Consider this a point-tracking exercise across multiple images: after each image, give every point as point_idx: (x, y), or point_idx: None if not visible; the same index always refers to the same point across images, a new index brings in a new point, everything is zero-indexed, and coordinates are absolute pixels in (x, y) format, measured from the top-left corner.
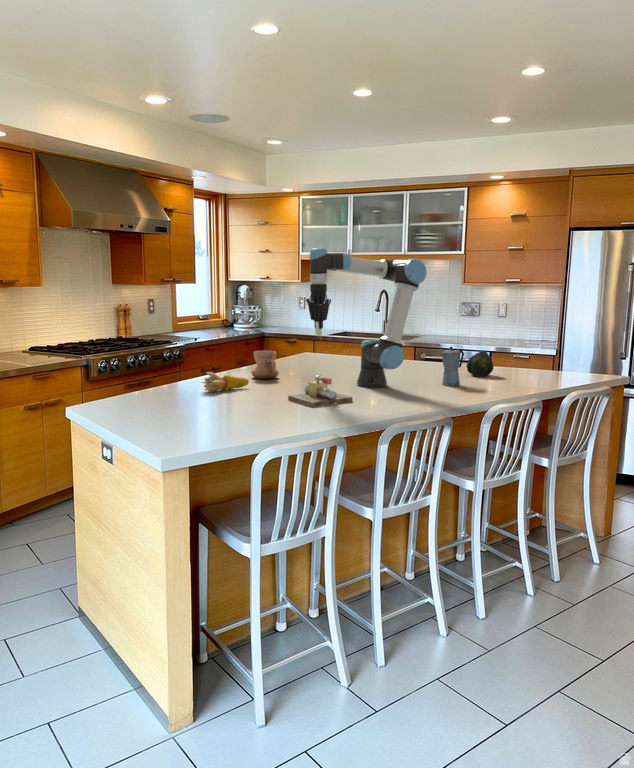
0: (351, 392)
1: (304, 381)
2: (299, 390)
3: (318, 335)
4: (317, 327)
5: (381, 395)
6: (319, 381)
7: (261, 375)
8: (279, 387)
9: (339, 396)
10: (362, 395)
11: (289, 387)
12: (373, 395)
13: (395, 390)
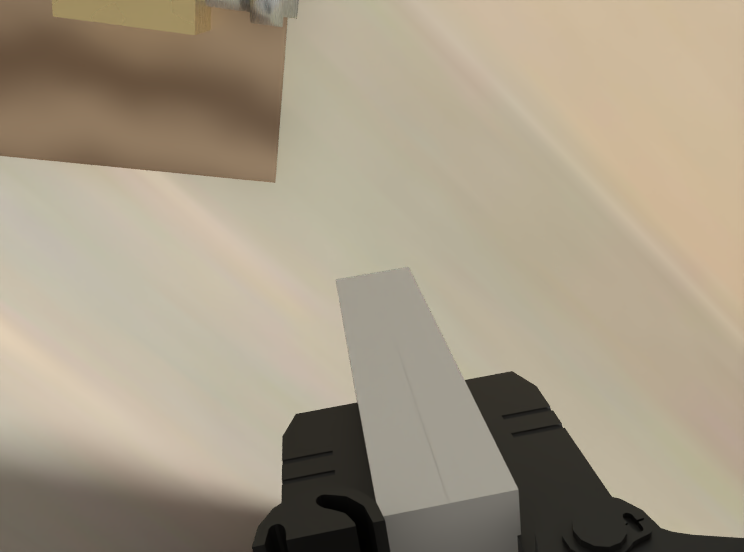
0: (249, 360)
1: (724, 369)
2: (540, 128)
3: (338, 294)
4: (381, 378)
5: (55, 438)
6: (157, 3)
7: None
8: (726, 89)
9: (21, 85)
10: (122, 349)
11: (669, 149)
12: (83, 401)
13: None
